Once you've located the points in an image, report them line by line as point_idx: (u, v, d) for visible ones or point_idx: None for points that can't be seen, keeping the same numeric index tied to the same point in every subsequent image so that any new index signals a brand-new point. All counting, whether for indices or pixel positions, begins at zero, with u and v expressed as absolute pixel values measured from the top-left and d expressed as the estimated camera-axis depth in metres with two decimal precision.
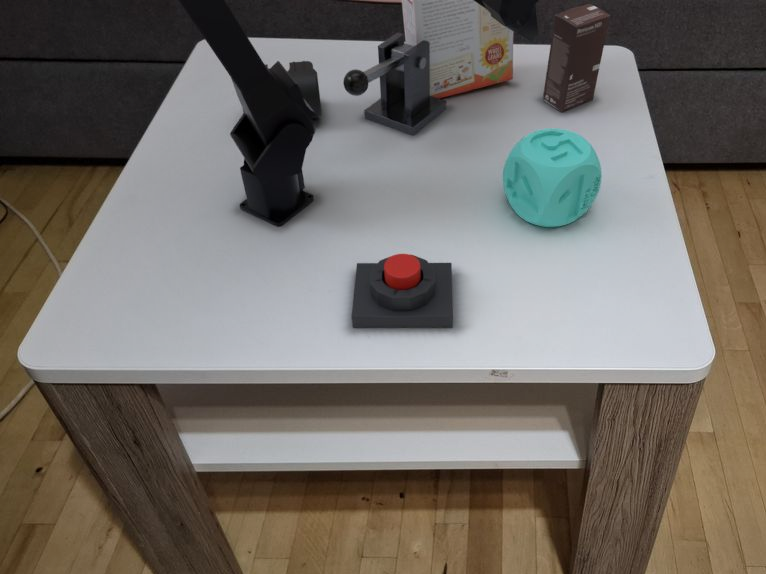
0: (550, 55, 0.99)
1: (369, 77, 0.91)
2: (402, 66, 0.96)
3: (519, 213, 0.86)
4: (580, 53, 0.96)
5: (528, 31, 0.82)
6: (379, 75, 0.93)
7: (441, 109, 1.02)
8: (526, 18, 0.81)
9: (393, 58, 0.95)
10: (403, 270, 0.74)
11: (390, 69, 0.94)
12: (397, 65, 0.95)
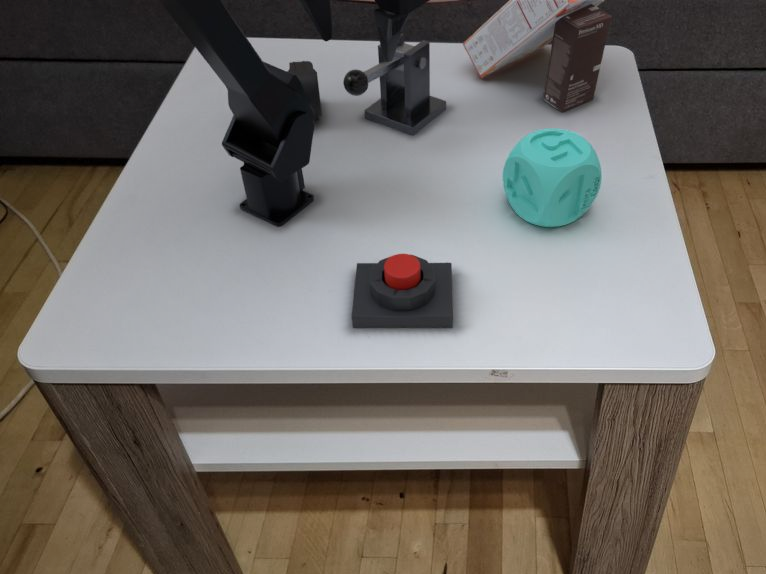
0: (551, 55, 0.99)
1: (369, 77, 0.91)
2: (402, 66, 0.96)
3: (519, 213, 0.86)
4: (581, 54, 0.96)
5: (391, 46, 0.84)
6: (379, 75, 0.93)
7: (441, 109, 1.02)
8: (395, 30, 0.82)
9: (393, 58, 0.95)
10: (403, 270, 0.74)
11: (390, 69, 0.94)
12: (397, 65, 0.95)
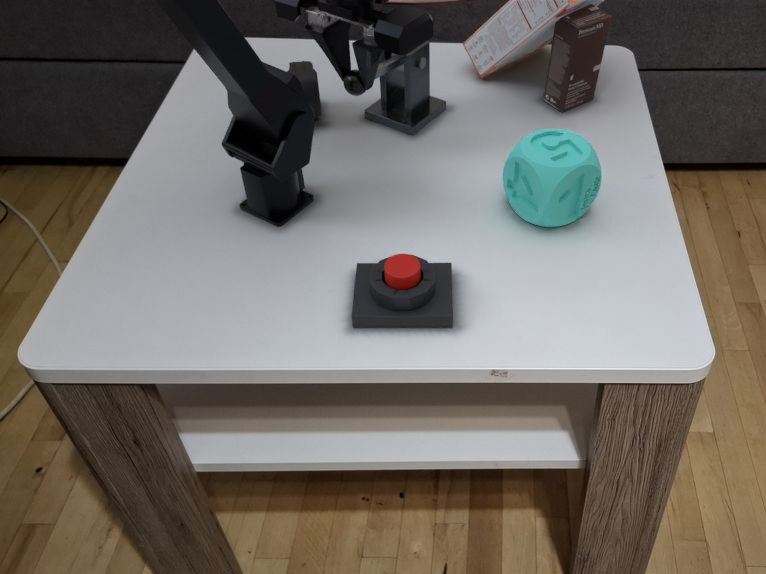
0: (551, 55, 0.99)
1: None
2: (402, 66, 0.96)
3: (519, 213, 0.86)
4: (581, 54, 0.96)
5: (370, 76, 0.88)
6: (379, 75, 0.93)
7: (441, 109, 1.02)
8: (374, 60, 0.87)
9: (393, 58, 0.95)
10: (403, 270, 0.74)
11: (390, 69, 0.94)
12: (397, 65, 0.95)
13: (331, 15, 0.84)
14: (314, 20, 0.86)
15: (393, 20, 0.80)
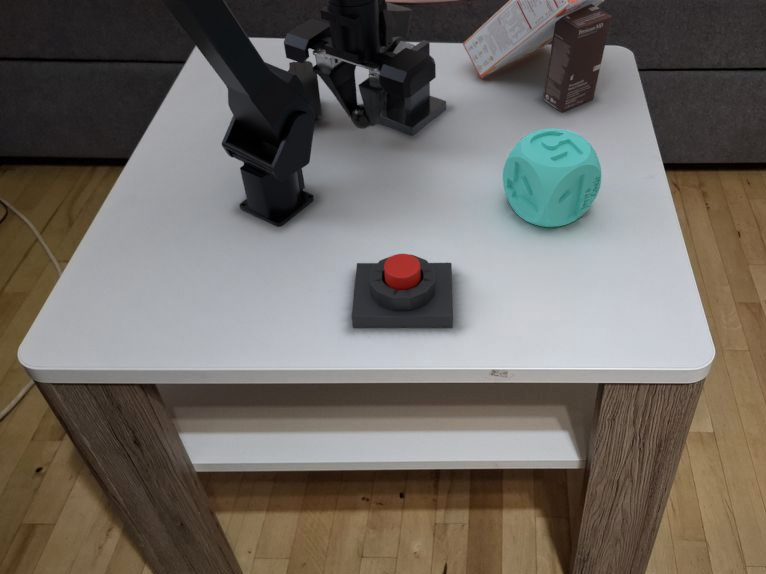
0: (551, 55, 0.99)
1: None
2: None
3: (519, 213, 0.86)
4: (581, 54, 0.96)
5: (376, 113, 0.92)
6: None
7: (441, 109, 1.02)
8: (379, 99, 0.91)
9: None
10: (403, 270, 0.74)
11: None
12: None
13: (338, 58, 0.88)
14: (322, 62, 0.90)
15: (397, 65, 0.84)
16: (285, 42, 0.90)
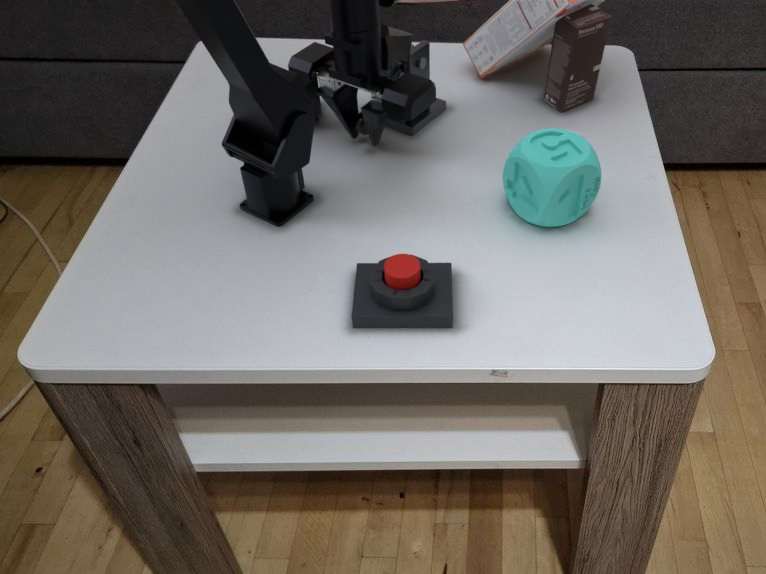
0: (551, 55, 0.99)
1: None
2: None
3: (519, 213, 0.86)
4: (581, 54, 0.96)
5: (377, 134, 0.95)
6: None
7: (441, 109, 1.02)
8: (381, 121, 0.93)
9: (394, 68, 0.96)
10: (403, 270, 0.74)
11: None
12: (399, 73, 0.96)
13: (341, 81, 0.90)
14: (325, 84, 0.92)
15: (399, 89, 0.86)
16: (289, 65, 0.92)
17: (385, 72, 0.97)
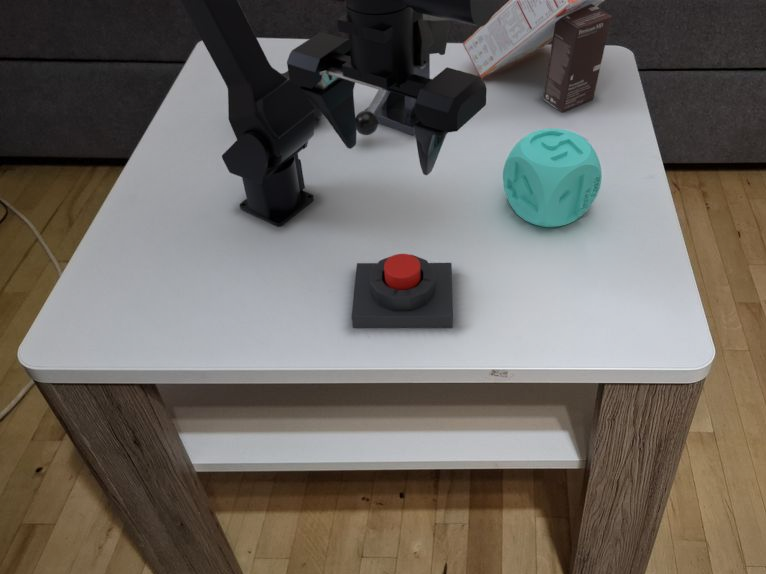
0: (551, 55, 0.99)
1: (377, 110, 0.96)
2: None
3: (519, 213, 0.86)
4: (581, 54, 0.96)
5: (432, 159, 0.71)
6: (385, 98, 0.96)
7: None
8: (437, 141, 0.70)
9: None
10: (403, 270, 0.74)
11: None
12: None
13: (333, 73, 0.69)
14: None
15: (439, 89, 0.64)
16: (289, 62, 0.70)
17: None
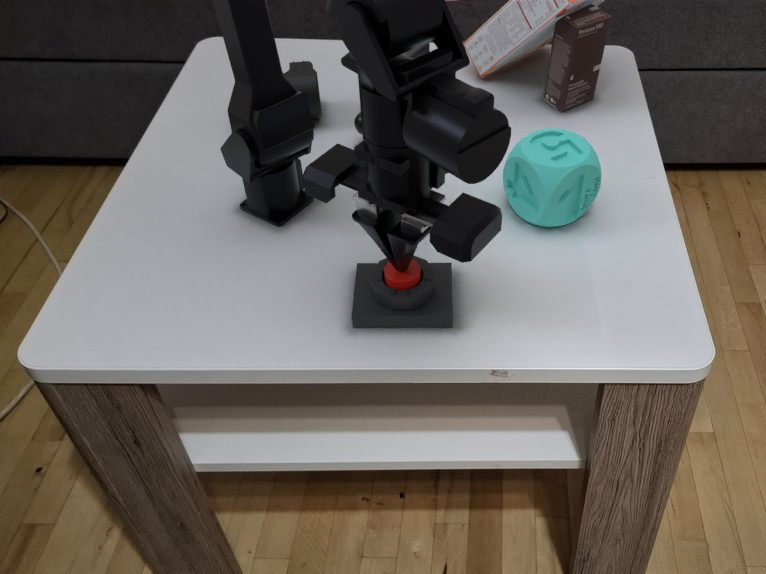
0: (551, 55, 0.99)
1: None
2: None
3: (519, 213, 0.86)
4: (581, 54, 0.96)
5: (407, 259, 0.73)
6: None
7: None
8: None
9: None
10: (404, 274, 0.74)
11: None
12: None
13: None
14: (364, 209, 0.69)
15: (454, 220, 0.64)
16: (305, 177, 0.70)
17: None
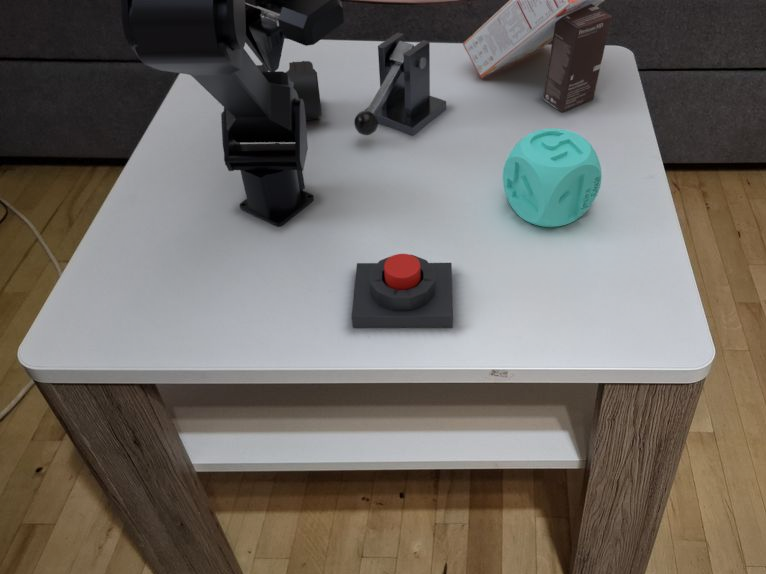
0: (551, 55, 0.99)
1: (377, 110, 0.96)
2: None
3: (519, 213, 0.86)
4: (581, 54, 0.96)
5: (274, 58, 0.85)
6: (385, 98, 0.96)
7: (441, 109, 1.02)
8: (276, 42, 0.83)
9: (394, 68, 0.96)
10: (403, 270, 0.74)
11: (394, 83, 0.96)
12: (399, 74, 0.96)
13: (247, 3, 0.79)
14: None
15: (298, 8, 0.75)
16: None
17: (385, 72, 0.97)
